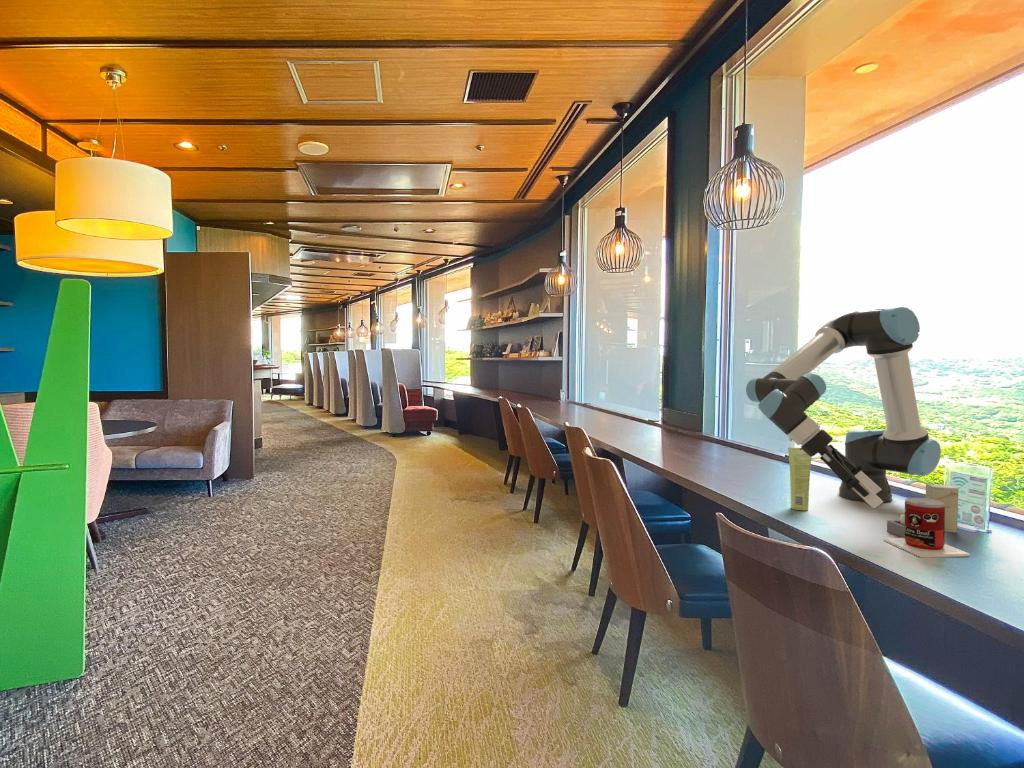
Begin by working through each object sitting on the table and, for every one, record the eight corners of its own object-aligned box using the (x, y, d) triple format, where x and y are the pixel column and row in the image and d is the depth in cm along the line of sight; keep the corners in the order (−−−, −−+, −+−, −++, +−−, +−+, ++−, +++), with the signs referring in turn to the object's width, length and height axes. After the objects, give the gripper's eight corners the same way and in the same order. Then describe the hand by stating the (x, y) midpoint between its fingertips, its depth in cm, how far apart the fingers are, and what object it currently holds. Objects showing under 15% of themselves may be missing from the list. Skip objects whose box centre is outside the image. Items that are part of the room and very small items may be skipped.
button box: (912, 530, 146) (912, 519, 145) (932, 539, 139) (933, 527, 138) (886, 531, 145) (887, 520, 145) (906, 539, 138) (906, 528, 138)
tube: (795, 505, 173) (795, 445, 172) (812, 508, 169) (812, 447, 168) (787, 508, 169) (787, 447, 168) (804, 512, 165) (805, 449, 164)
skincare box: (930, 530, 145) (930, 486, 145) (924, 526, 149) (924, 483, 149) (958, 533, 143) (959, 488, 143) (951, 528, 147) (952, 484, 147)
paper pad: (928, 539, 138) (928, 537, 138) (969, 556, 126) (969, 553, 126) (883, 540, 138) (883, 538, 138) (920, 557, 126) (920, 554, 126)
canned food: (897, 542, 134) (897, 499, 134) (917, 538, 137) (917, 496, 137) (931, 552, 127) (931, 506, 127) (951, 547, 130) (952, 502, 130)
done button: (911, 525, 144) (911, 514, 144) (922, 529, 140) (922, 518, 140) (896, 525, 144) (896, 514, 144) (907, 530, 140) (908, 518, 140)
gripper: (803, 440, 156) (865, 496, 149) (794, 454, 136) (865, 520, 128) (824, 422, 153) (888, 479, 146) (818, 434, 133) (892, 501, 125)
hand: (877, 498), depth 137 cm, fingers open, 13 cm apart
